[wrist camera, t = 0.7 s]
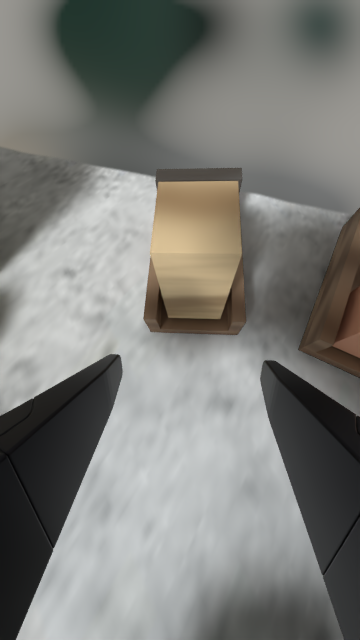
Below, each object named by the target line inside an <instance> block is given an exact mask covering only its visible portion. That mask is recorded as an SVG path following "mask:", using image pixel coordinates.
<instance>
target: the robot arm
mask: <svg viewBox="0 0 360 640" xmlns="http://www.w3.org/2000/svg"><path fill="white" fill-rule="evenodd" d="M121 378H122V363H121V357H120V355H118V354H110V355H108V356H106V357H104V358H103V359H101V360H99V361H97V362H95V363H94V364H92V365H90V366H88V367H87V368H85V369H83V370H81V371H80V372H78V373H76V374H74V375H73V376H71V377H69V378H67V379H66V380H64V381H62V382H60V383H59V384H57V385H55V386H53V387H52V388H50V389H48V390H46V391H45V392H43V393H41V394H39V395H37V396H36V397H34V399H30V400H29V401H27V402H25V403H23V404H22V405H20V406H18V407H16V408H14V409H13V410H11V411H9V412H7V413H5V414H3V415H1V416H0V640H16V638H17V636H18V633H19V631H20V628H21V626H22V624H23V621H24V619H25V617H26V614H27V612H28V609H29V607H30V605H31V602H32V600H33V597H34V595H35V593H36V590H37V588H38V586H39V583H40V581H41V578H42V576H43V574H44V571H45V569H46V567H47V564H48V562H49V559H50V557H51V555H52V552H53V548H54V547H55V545H56V542H57V540H58V538H59V535H60V533H61V530H62V528H63V526H64V523H65V521H66V518H67V516H68V514H69V511H70V509H71V507H72V504H73V502H74V499H75V497H76V495H77V492H78V490H79V488H80V485H81V483H82V480H83V478H84V476H85V473H86V471H87V468H88V466H89V464H90V461H91V459H92V457H93V454H94V452H95V449H96V447H97V445H98V442H99V440H100V438H101V435H102V433H103V430H104V428H105V426H106V423H107V421H108V418H109V416H110V414H111V411H112V409H113V405H114V402H115V399H116V395H117V392H118V388H119V385H120V382H121ZM260 381H261V386H262V391H263V395H264V400H265V405H266V409H267V414H268V418H269V421H270V424H271V427H272V430H273V433H274V436H275V439H276V441H277V444H278V447H279V450H280V453H281V456H282V459H283V462H284V465H285V468H286V471H287V473H288V476H289V479H290V482H291V485H292V488H293V491H294V494H295V497H296V500H297V503H298V506H299V508H300V511H301V514H302V517H303V520H304V523H305V526H306V529H307V532H308V535H309V538H310V541H311V543H312V546H313V549H314V552H315V555H316V558H317V561H318V564H319V567H320V570H321V573H322V575H324V576H323V579H324V582H325V585H326V588H327V591H328V593H329V596H330V599H331V602H332V605H333V608H334V611H335V614H336V617H337V620H338V623H339V626H340V629H341V631H342V634H343V637H344V640H360V417H359V416H357V417H356V414H354V413H353V412H351V411H350V410H348V409H347V408H345V407H344V406H342V405H341V404H339V403H338V402H336V401H335V400H333V399H332V398H330V397H329V396H327V395H326V394H324V393H323V392H321V391H320V390H318V389H317V388H315V387H314V386H312V385H311V384H309V383H308V382H306V381H305V380H303V379H302V378H300V377H299V376H297V375H296V374H294V373H293V372H291V371H290V370H288V369H287V368H285V367H284V366H282V365H281V364H279V363H278V362H276V361H272V360H265V361H264V362H263V366H262V372H261V378H260Z"/></svg>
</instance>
